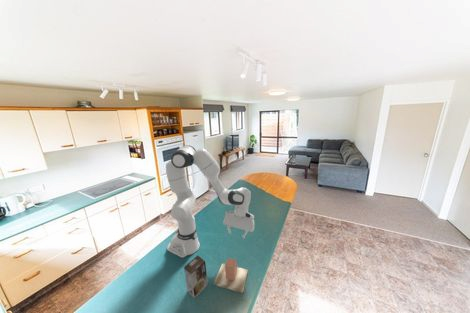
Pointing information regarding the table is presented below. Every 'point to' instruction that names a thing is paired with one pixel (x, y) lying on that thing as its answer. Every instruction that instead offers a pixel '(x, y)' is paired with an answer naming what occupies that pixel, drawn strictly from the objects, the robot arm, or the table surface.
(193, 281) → the coffee box
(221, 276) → the birch board
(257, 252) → the table surface
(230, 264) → the brick block
